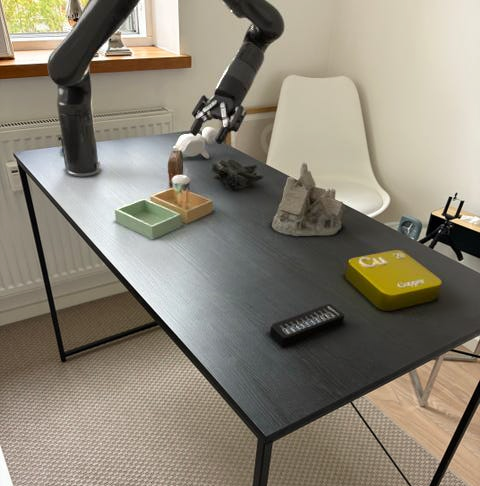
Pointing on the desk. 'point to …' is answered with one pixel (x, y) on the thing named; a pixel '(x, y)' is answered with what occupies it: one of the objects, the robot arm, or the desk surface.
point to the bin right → (196, 205)
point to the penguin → (196, 143)
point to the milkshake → (181, 190)
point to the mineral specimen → (235, 174)
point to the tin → (175, 165)
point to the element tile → (392, 280)
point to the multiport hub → (306, 325)
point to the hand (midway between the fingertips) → (205, 138)
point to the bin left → (148, 218)
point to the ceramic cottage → (308, 208)
